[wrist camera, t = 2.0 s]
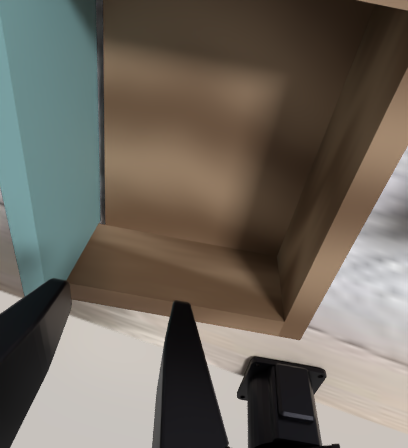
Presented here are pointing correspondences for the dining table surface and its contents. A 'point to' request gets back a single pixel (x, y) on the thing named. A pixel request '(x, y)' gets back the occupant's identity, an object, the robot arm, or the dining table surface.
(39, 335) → the robot arm
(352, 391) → the dining table surface
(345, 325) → the dining table surface
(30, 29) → the panel
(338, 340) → the dining table surface
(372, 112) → the crate
